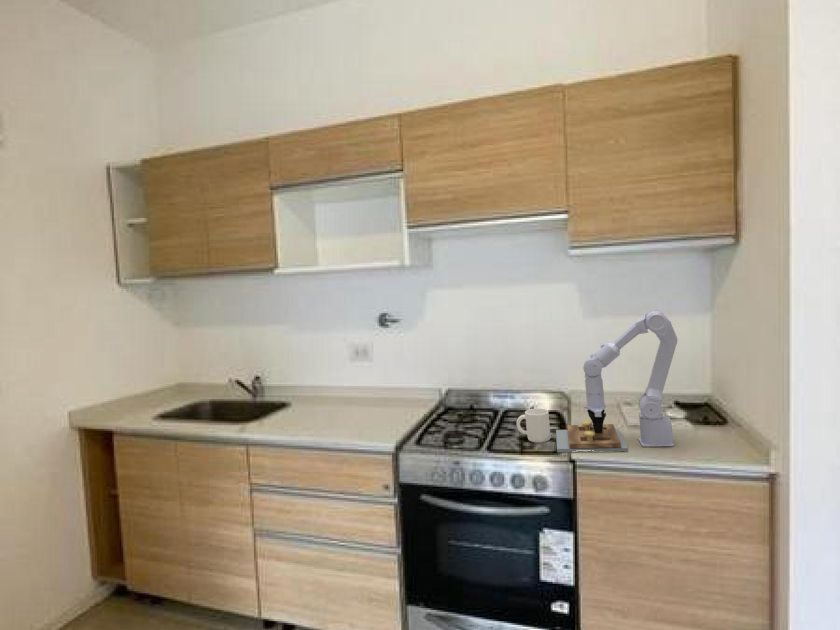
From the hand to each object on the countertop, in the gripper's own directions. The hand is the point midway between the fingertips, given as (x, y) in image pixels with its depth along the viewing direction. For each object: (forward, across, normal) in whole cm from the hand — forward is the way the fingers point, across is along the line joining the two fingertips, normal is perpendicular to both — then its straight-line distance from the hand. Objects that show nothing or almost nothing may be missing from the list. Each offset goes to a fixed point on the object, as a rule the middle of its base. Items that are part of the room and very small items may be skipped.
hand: (598, 431), depth 165 cm
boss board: (+4, 0, -3) cm, 5 cm away
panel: (+2, 0, -2) cm, 3 cm away
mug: (+4, -4, -22) cm, 23 cm away
